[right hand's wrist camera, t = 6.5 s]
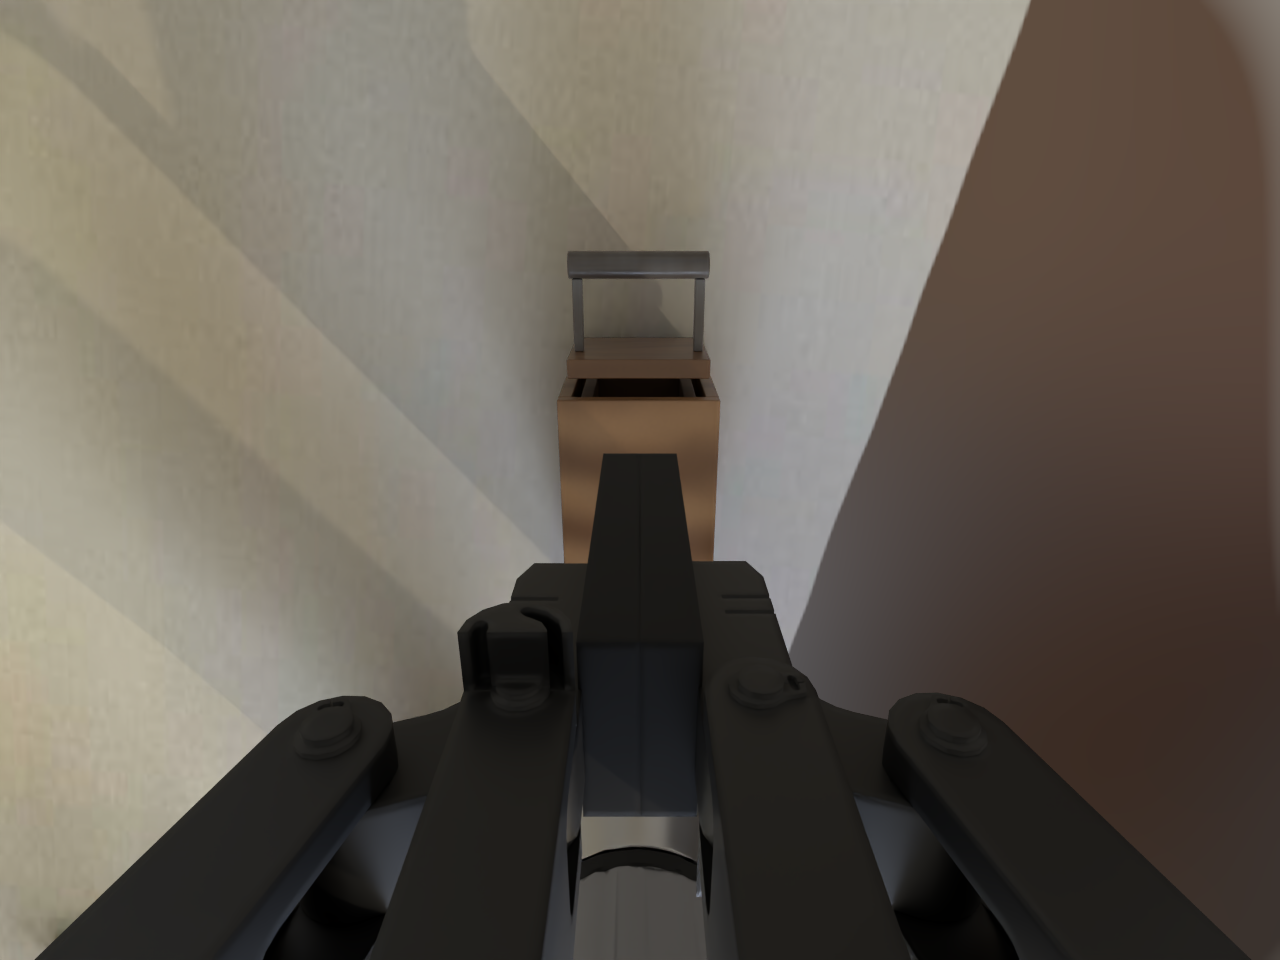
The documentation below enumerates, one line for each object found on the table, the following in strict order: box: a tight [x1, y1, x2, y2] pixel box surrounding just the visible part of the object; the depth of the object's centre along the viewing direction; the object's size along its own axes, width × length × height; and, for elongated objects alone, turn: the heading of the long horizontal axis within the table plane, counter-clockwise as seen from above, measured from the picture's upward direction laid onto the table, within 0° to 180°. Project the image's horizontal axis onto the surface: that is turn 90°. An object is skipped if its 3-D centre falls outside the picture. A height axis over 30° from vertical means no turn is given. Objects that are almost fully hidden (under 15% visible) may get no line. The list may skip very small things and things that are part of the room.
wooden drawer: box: [567, 251, 710, 397], centre depth 48 cm, size 24×9×7 cm, turn 0°
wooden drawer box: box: [557, 377, 720, 563], centre depth 50 cm, size 19×10×9 cm, turn 0°
